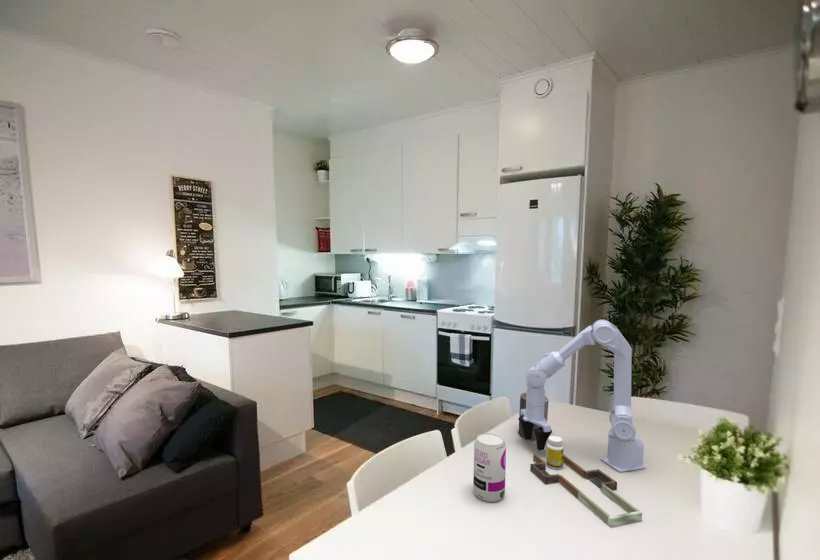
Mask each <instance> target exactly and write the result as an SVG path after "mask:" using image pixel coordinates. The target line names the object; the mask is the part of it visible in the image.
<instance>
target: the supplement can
mask: <svg viewBox="0 0 820 560" xmlns="http://www.w3.org/2000/svg"><path fill="white" fill-rule="evenodd" d="M506 460H507V445H506V443H505V441H504V438H503V437H502V436H500V435H499V434H498V435H497V434H496V433H486V432H485V433H481V434H478V435H477V436H476V439H475V440H474V443H473V483H472V484H473V486H472V488H473V489H472V490H473V493H474V495H475V496H476V497H477V498H478V499H480V500H481V501H484V502H488V503H497V502H500V501H501V500H502V499H503V498H504V497H505V496H506V465H507V464H506V463H507V461H506Z"/></svg>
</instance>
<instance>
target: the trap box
mask: <svg viewBox="0 0 820 560" xmlns="http://www.w3.org/2000/svg"><path fill="white" fill-rule="evenodd" d="M532 461H533V462H534V463H531V464H530V467H529V468H530V470H529V471H530V472H531V473H532V474H533V475H534V474H535V475H534V476H535V477H536V478H538V480H540V481H541V482H542V483H543V485H552V484H560V485H561V486H562V487H563V488H564V489H566V491H568V492H569V493H570V494H571V495H572V496H574V497H575V499H577V500H579V501H580V503H582V504H583V505H584V506H585V507H586V508H588V509H589V510H590V511H591V512H592V513H593V514H594V515H595V516H596V517H598V518H599V519H600V520H601V521H602V522H604V523H605V524H606V525H607V526H608V527H610V528H613V527H618V526H623V525H629V524H633V523H637V522H642V521H643V512H642V511H640V510H639V509H638V508H637V507H635V506H633V505H632V504H631V503H630V502H628V501H627V500H626V499H624V498H623V497H622V496H620V495H619V494H618V493H617V492H615V491H616V490H618V482H617V481H616V480H614V479H613V478H611V476H609V475H608V474H606V473H605V472H603V471H602V470H600V469H599V468H597V469H591V470H585V469H584V468H583V467H581V466H580V465H579V464H578V463H576V461H575V462H574V461H573V459H570V458H569V457H568V456H567V455H566V454H564V453H563V464H565V465H566V466H567V467H568V468H570V469H571V470H572V471H573V472H575V473H576V474H577V475H579V476H580V477H581V478H583V479H585V480H588V481H589V482H590V483H592V484H594V485H595V486H596V487H597V488H599V489H600V491H601V493H602V494H603V495H604V496H606V497H607V498H608V499H610V500H611V501H612V502H614V503H615V504H616V505H617V506H619V507H620V508H622V510H624V511H625V512H626V513H621V514H616V515H610V514H609V513H608V512H606V511H605V510H604V509H603V508H602V507H600V506H599V505H598V504H597V503H595V502H594V501H593V500H592V499H590V498H589V497H588V496H587V495H586V494H585V493H583V492H582V491H581V490H580V489H579V488H577V487H576V485H574V484H573V483H571V482H570V481H569V480H568V479H567V478H566V477H564V476H563V475H560V474H559V473H556V474H550V473H549V472H548V471H547V470H546V469H547V468H546V466H547V464H546V461H545V460H544V459H542V458H541V457H540V456H539V455H538V454H536V453H533V454H532Z"/></svg>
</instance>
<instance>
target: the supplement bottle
mask: <svg viewBox="0 0 820 560" xmlns="http://www.w3.org/2000/svg"><path fill="white" fill-rule="evenodd" d="M547 441H548V442H547V443H546V461H545V463H546V466H547V467H549V468H550V469H553V470H562V469H563V468H564V463H563V454H564V448H565V447H564V446H563V438H562V437H560V436H557V435H550V436H549V437H548V439H547Z"/></svg>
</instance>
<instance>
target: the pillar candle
mask: <svg viewBox="0 0 820 560" xmlns="http://www.w3.org/2000/svg"><path fill="white" fill-rule="evenodd" d="M549 401H550V399H549V398H548V396H547V395H545V403H544V418H545V419H546V421H547V422H548V419H549V418H548V414H549ZM521 409H526V392H523V393H521V394H520V400H519V415H518V416H519V417H518V418H520V417H522V415H520V412H521ZM535 428H539V426H538V425H536V424H534V425H533V429H535ZM518 435H519V436H520V437H521V438H524V434H523V430H522V426H521V424H520V422H518ZM530 441H536V436H535V432H534V430H532V438H531V440H530Z"/></svg>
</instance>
